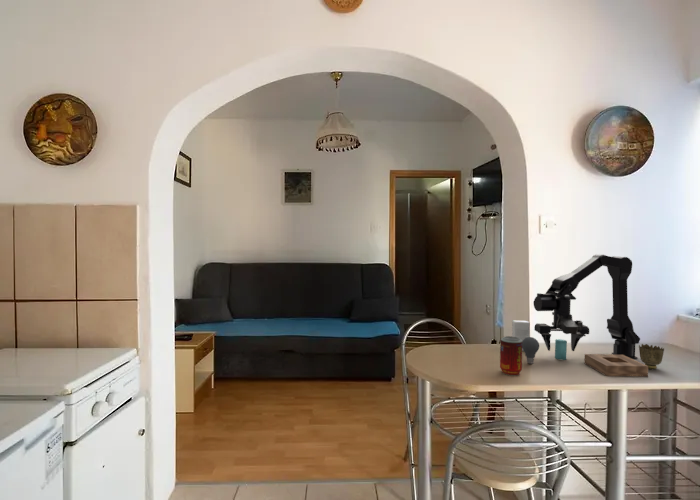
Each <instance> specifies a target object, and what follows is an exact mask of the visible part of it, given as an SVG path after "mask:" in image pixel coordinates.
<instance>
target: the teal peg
mask: <svg viewBox="0 0 700 500" xmlns="http://www.w3.org/2000/svg"><path fill="white" fill-rule="evenodd" d="M554 341H555V343H554V358H555V359H556V360H559V361H566V360H567V350H568V349H567V346H568V345H567V342H568V340H566V339H561V338H560V339H559V338H558V339H555V340H554Z"/></svg>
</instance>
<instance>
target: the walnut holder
mask: <svg viewBox="0 0 700 500" xmlns="http://www.w3.org/2000/svg"><path fill="white" fill-rule="evenodd" d="M584 364H585V365H586V366H588V367H590V368H592V369H594V370H596V371H597V372H599V373H601V374H602V375H604V376H606V377H647V378H648V377H649V369H648V366H647V365H645V363H643V362H641V361H640V362H639V361H638V360H636V359H632V358H629V357H627V356H624V355H613V354H612V353H611V354H608V353H606V354H604V353H603V354H602V353H597V354H596V353H585V354H584Z"/></svg>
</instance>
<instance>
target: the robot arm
mask: <svg viewBox="0 0 700 500" xmlns="http://www.w3.org/2000/svg"><path fill="white" fill-rule="evenodd" d="M601 267H606V268H607V272H608V274H609V276H610V278H611V280H612V282H611V283H612V284H611V285H612V315H611V317H610V318H607V319H606V324H607V326H606V329H607V330H608V333H609V334H610V337H611V339H612V340H614V343H613V347H612V348H613V350H612V351H613V352H611V354H612V355H624V356H627V357H629V358H631V359H633V360H637V359H638V356H636V345H637V344H640V342H641V338H640V336H639V335H638V334H637V333H636V332H635V330H634V324H633V322H632V321H631V319H630V316H629V311H628V310H629V306H628V300H629V299H628V279H629V277H630V275H631V274H632V271H633V261H632V259H631V258H629V257H628V256H615V255H614V256H613V255H612V256H608V255H606V254H600V253H599V254H597V253H596V254H593V256H592V257H590V258H589V259H588V260H587V261H585V262H583V263H582V264H581V265H579V266H578V267H576V268H575V269H573V270H572V271H571V272H569V273H567V274H562V275H560V276H558V277H556V278H554V279H553V280H552V282H551V285H550V287H549V288H548V289H547V290H546V291H545V292H544V293H540V292H539V293H536V296H535V298H534V300H533V303H532V304H533V308H534V309H535V311H537V312H551V316H553V322H551V325H548V324H546V323H535V325H534V326H533V327H534V329H533V330H534V331H535V332H537V333H538V334H540V335H541V338H542V339H543V342H544V345H545V347H546V348H547V351H548V352H550V351H551V336H552V334H551V332H562V333H564V334H565V335H570V348H571V351H572V352H575V350H576V348H577V345H578V343H579V341H580V340H581V338H583V337H586V335H589V334H590V328H589V327H588V325H587V326H586V325H585V324H583V322H584V321H582V320H573V314H571V301H572V300H573V301H575V300H576V299H577V297H576V296H574V295H573V292H574V291H575V290H576V289H577V288H578V287H579V284H580V282H581V281H583V280H585V279H586V278H587V277H589V276H591V275H592V274H593V273H594V272H596V271H597V270H598V269H600V268H601Z"/></svg>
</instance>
